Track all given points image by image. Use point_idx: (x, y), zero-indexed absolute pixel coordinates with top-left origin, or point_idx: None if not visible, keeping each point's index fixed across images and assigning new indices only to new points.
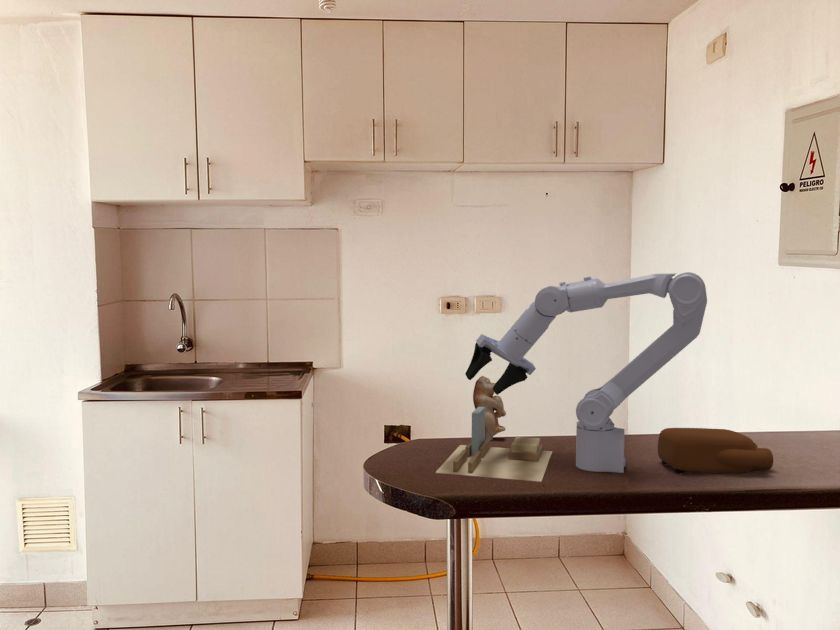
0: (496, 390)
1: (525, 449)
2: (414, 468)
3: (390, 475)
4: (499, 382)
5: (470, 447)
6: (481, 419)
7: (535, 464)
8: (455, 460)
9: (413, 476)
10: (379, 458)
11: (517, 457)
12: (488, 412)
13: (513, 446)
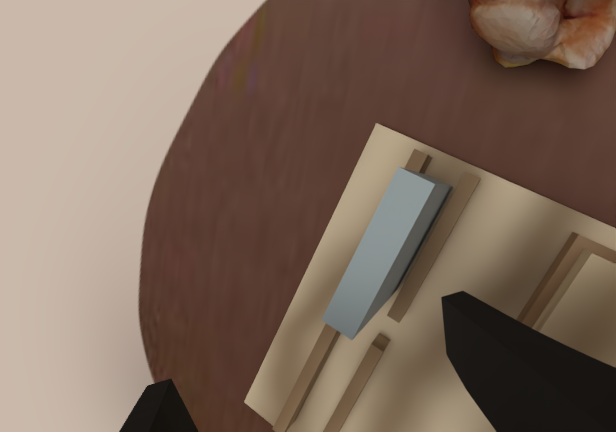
0: (456, 360)
1: None
2: (220, 301)
3: (168, 339)
4: (492, 369)
5: None
6: (393, 271)
7: None
8: (280, 421)
9: (210, 364)
10: (160, 191)
11: None
12: (519, 9)
13: None
